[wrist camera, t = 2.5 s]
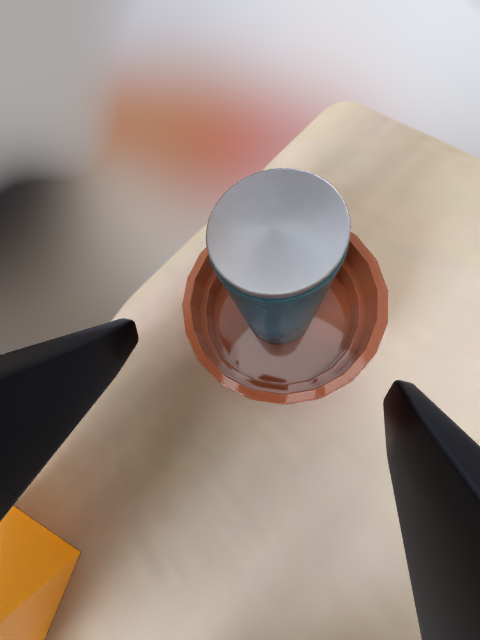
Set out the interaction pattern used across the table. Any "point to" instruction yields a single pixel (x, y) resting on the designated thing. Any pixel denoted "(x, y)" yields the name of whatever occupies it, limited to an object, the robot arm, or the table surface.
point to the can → (278, 248)
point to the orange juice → (31, 576)
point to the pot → (300, 355)
